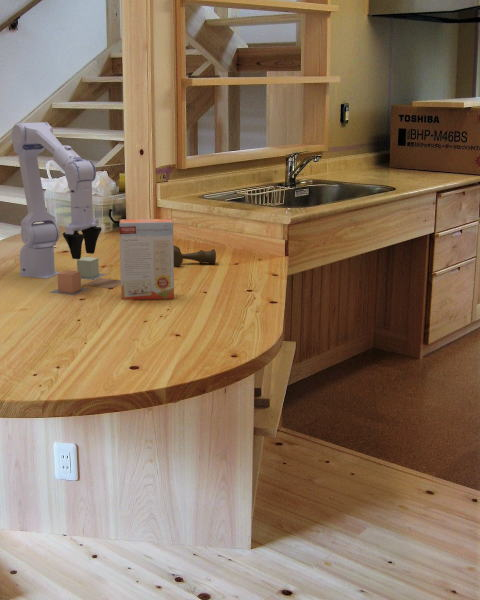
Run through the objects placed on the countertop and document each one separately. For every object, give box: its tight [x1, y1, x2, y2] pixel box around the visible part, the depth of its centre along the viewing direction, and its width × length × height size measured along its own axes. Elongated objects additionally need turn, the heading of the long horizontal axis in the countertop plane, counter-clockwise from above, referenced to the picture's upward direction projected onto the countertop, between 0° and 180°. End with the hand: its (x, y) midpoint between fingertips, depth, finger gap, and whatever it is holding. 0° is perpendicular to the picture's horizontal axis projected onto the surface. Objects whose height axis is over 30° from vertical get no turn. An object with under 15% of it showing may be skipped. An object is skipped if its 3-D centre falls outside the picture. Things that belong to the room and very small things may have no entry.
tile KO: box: [48, 287, 90, 296], centre depth 216 cm, size 8×8×1 cm
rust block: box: [56, 269, 82, 293], centre depth 215 cm, size 4×4×5 cm
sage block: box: [76, 256, 100, 278], centre depth 232 cm, size 4×4×5 cm
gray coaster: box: [81, 272, 107, 281], centre depth 233 cm, size 8×8×1 cm
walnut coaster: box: [84, 277, 121, 289], centre depth 224 cm, size 9×9×1 cm
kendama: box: [173, 244, 217, 268], centre depth 250 cm, size 6×10×20 cm
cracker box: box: [118, 218, 175, 301], centre depth 209 cm, size 14×6×21 cm, turn 97°
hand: (83, 256), depth 215 cm, fingers open, 7 cm apart
